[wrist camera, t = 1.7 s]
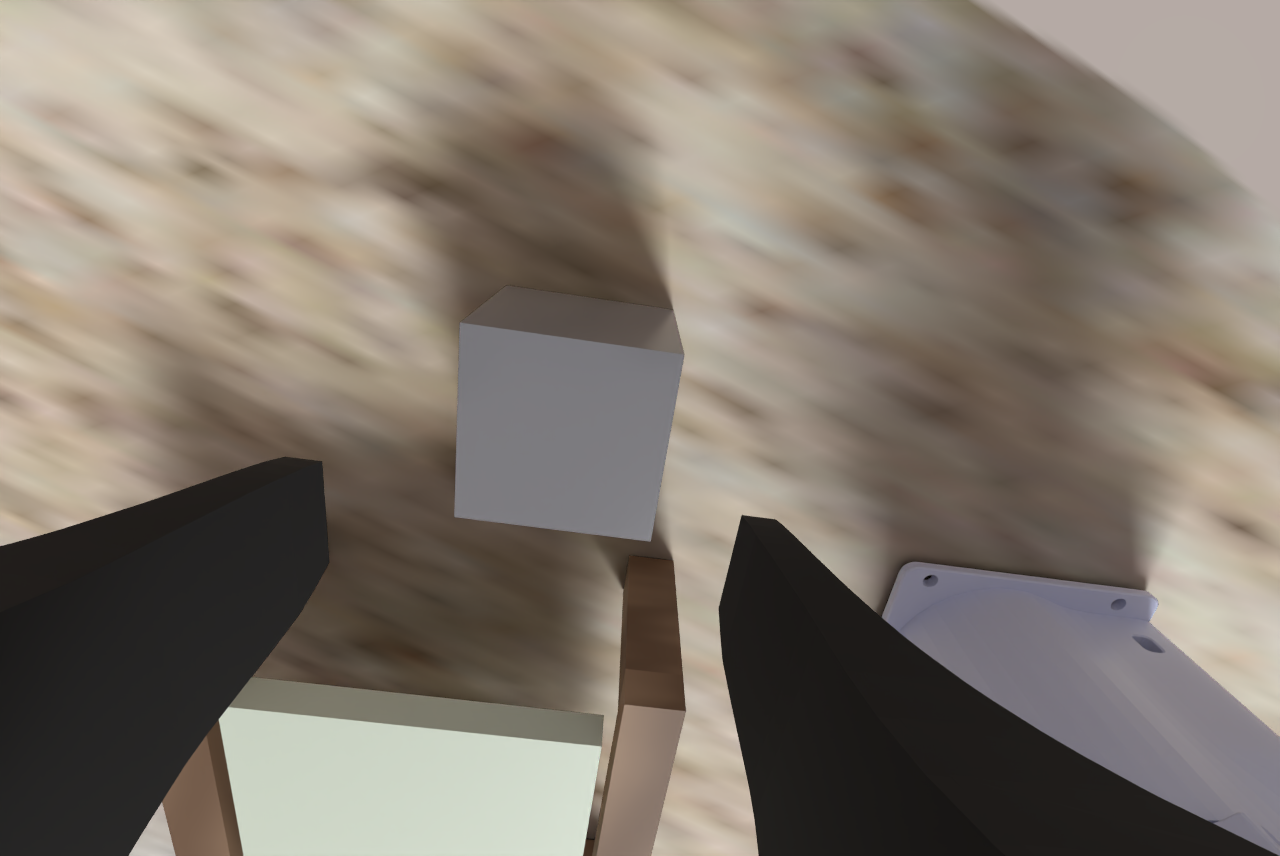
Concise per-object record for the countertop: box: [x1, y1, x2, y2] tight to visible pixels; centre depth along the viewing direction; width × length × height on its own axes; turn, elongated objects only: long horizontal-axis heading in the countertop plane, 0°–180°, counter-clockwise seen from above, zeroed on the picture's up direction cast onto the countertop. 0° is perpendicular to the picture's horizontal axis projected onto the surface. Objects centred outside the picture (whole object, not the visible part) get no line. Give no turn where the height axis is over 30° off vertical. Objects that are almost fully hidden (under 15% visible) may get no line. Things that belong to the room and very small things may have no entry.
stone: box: [454, 285, 684, 542], centre depth 16 cm, size 5×5×5 cm
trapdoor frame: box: [162, 555, 686, 856], centre depth 21 cm, size 14×17×6 cm
